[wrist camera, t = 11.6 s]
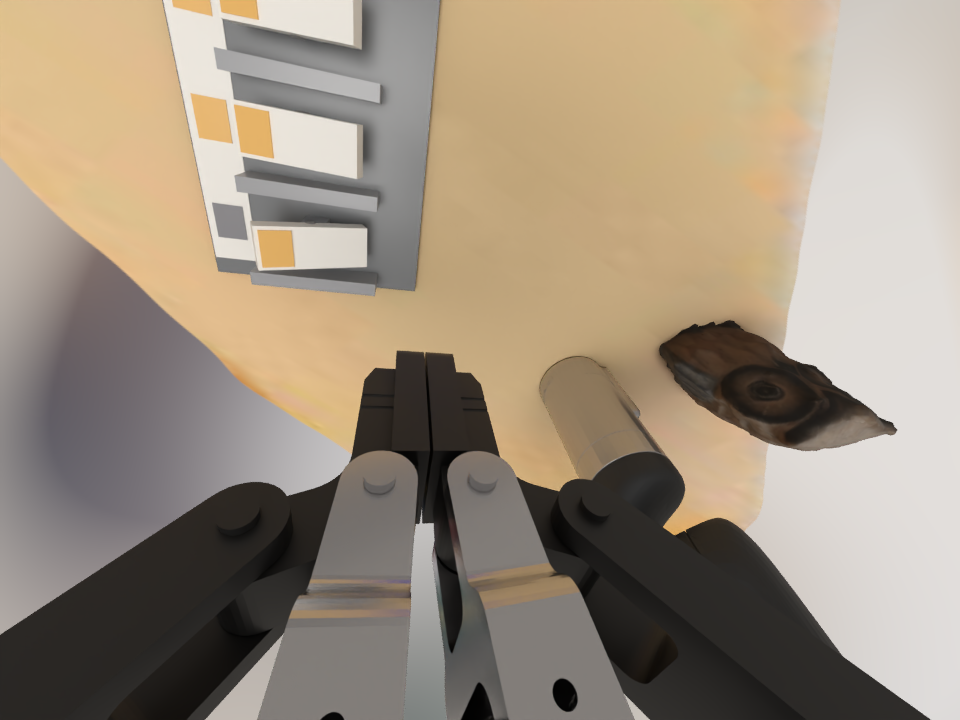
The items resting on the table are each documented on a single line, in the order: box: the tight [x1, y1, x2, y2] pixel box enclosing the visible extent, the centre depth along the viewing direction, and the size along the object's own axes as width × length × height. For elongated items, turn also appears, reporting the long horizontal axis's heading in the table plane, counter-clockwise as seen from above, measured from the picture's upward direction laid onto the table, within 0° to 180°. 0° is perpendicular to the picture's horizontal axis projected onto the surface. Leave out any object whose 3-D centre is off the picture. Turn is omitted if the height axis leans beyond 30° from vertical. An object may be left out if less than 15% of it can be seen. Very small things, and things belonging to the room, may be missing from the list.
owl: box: [659, 320, 897, 451], centre depth 45 cm, size 13×13×20 cm
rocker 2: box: [250, 220, 367, 271], centre depth 32 cm, size 9×4×2 cm, turn 80°
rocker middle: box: [230, 99, 363, 179], centre depth 28 cm, size 9×4×2 cm, turn 80°
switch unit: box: [162, 0, 440, 296], centre depth 30 cm, size 19×26×4 cm
